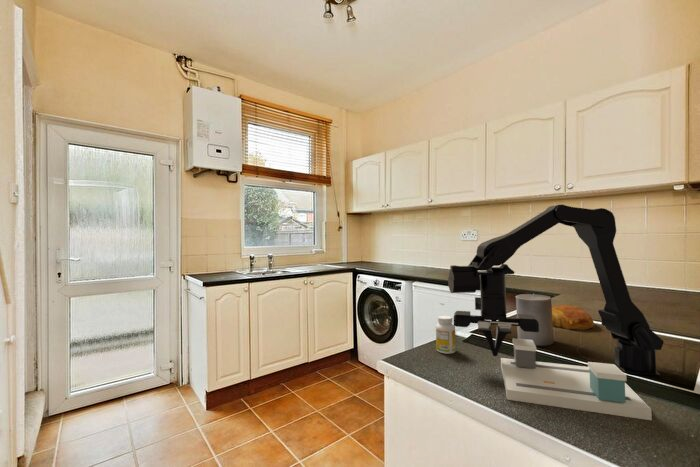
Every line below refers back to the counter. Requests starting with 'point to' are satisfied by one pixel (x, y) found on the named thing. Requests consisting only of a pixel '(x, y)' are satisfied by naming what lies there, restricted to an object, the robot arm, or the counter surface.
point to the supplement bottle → (445, 335)
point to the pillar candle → (543, 314)
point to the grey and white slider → (524, 353)
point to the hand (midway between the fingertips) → (494, 355)
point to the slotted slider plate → (565, 389)
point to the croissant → (571, 317)
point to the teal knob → (607, 381)
